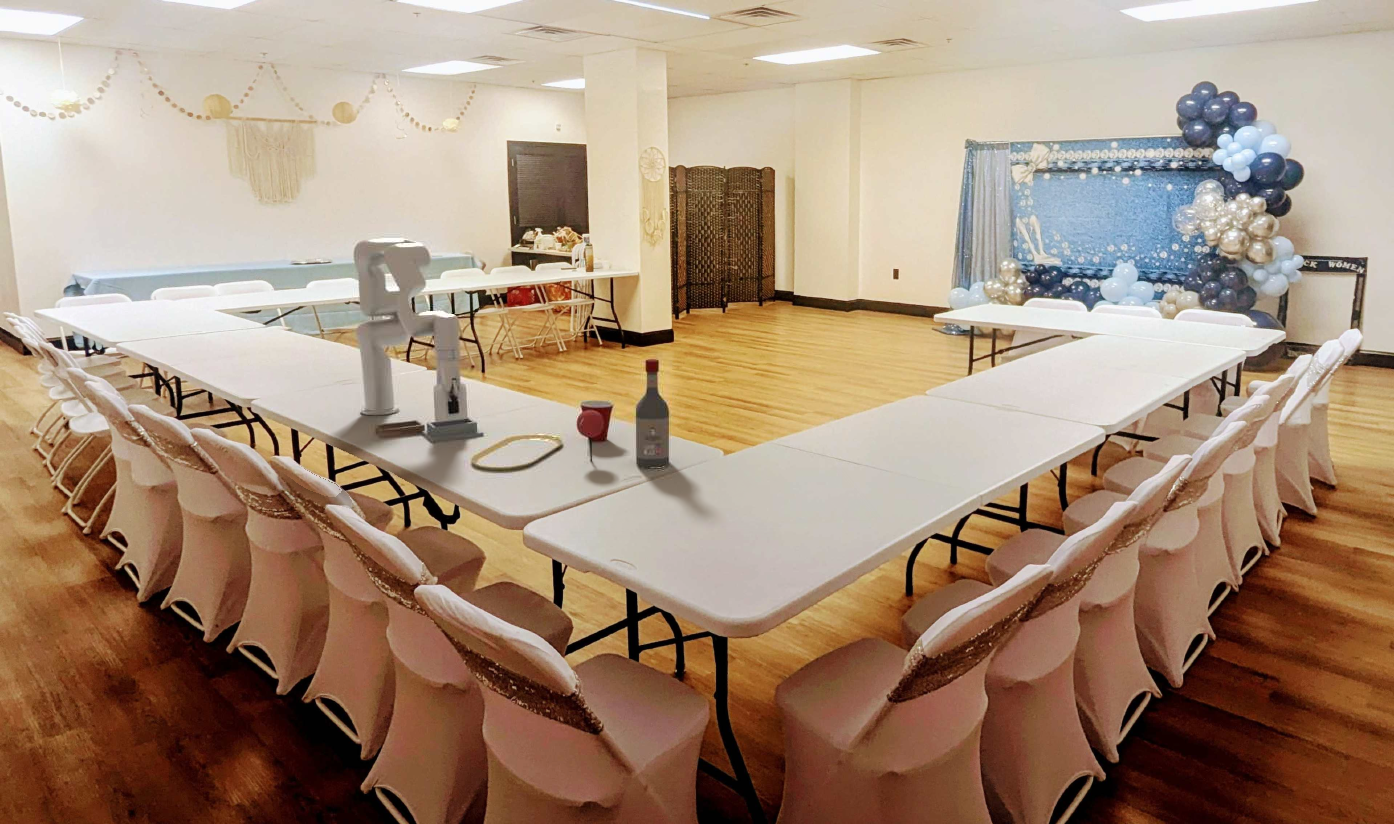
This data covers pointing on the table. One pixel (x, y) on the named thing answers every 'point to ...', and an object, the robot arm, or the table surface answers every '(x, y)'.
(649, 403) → the liquor
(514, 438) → the gold oval ring
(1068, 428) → the table surface
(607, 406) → the plastic cup
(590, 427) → the lollipop
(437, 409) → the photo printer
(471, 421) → the docking base
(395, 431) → the wooden picture frame
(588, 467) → the table surface
